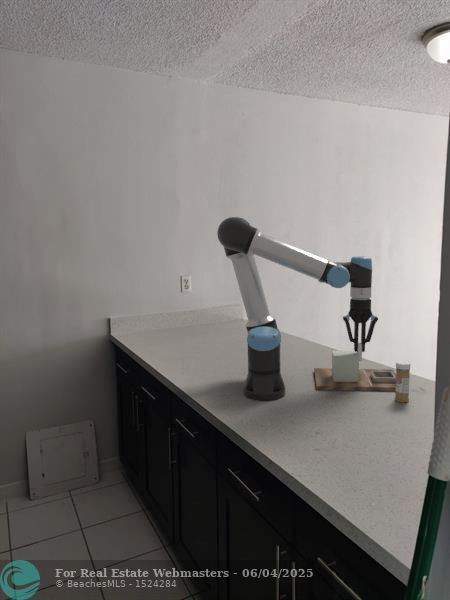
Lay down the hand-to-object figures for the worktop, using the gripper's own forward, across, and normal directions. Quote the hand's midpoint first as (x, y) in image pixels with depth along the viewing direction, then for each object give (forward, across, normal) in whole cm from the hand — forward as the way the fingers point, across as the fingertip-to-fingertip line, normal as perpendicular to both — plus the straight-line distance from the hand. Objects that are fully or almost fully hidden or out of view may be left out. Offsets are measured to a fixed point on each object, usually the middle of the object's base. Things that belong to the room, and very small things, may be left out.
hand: (359, 359), depth 180 cm
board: (+9, 0, +2) cm, 9 cm away
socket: (+7, +9, 0) cm, 12 cm away
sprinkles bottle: (+9, +12, -18) cm, 23 cm away
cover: (+7, -5, 0) cm, 9 cm away
